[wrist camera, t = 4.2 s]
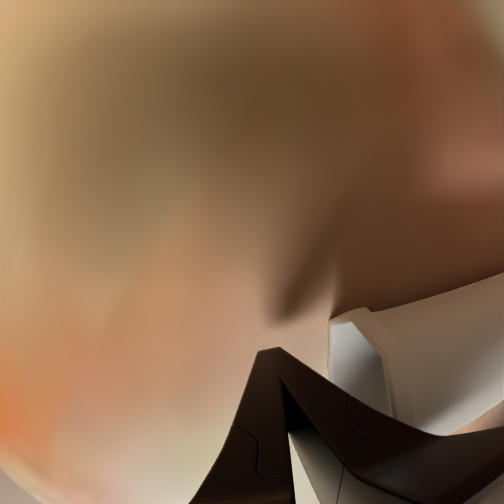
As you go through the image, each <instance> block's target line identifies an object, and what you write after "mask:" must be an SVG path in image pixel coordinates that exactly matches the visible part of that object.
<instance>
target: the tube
mask: <svg viewBox="0 0 504 504" xmlns="http://www.w3.org/2000/svg"><path fill="white" fill-rule="evenodd" d="M327 368H328V373H329V379H330V382H332V383H333V384H335V385H336V386H338V387H340V388H341V389H343V390H344V391H346V392H347V393H349V394H350V395H351V396H354V397H355V398H357V399H358V400H360V401H361V402H363V403H365V404H367V405H368V406H370V407H372V408H373V409H375V410H377V411H379V412H381V413H383V414H385V415H387V416H389V417H392V418H394V419H396V420H399V421H401V422H403V423H405V424H408V425H410V426H413V427H415V428H417V429H420V430H422V431H425V432H427V433H431V434H435V435H441V436H448V435H450V434H452V433H454V432H455V431H457V430H459V429H460V428H462V427H464V426H465V425H467V424H469V423H470V422H472V421H473V420H475V419H476V418H478V417H480V416H481V415H483V414H484V413H486V412H487V411H488V410H490V409H491V408H493V407H494V406H496V405H497V404H498V403H500V402H501V401H503V400H504V272H503V273H500V274H497V275H495V276H492V277H489V278H487V279H484V280H481V281H478V282H475V283H472V284H469V285H466V286H463V287H460V288H457V289H454V290H451V291H448V292H445V293H442V294H439V295H435V296H432V297H429V298H425V299H422V300H419V301H415V302H412V303H408V304H405V305H401V306H397V307H394V308H390V309H386V310H383V311H377V312H370V311H369V310H368V309H367V308H366V307H363V308H358V309H353V310H350V311H348V312H346V313H343V314H341V315H339V316H337V317H335V318H332V319H330V320H329V322H328V365H327Z"/></svg>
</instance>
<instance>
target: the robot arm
mask: <svg viewBox="0 0 504 504" xmlns="http://www.w3.org/2000/svg"><path fill="white" fill-rule="evenodd" d="M232 424H233V425H232V426H231V428H230V431H229V434H228V436H227V438H226V441H225V443H224V446H223V448H222V450H221V452H220V454H219V455H218V457H217V459H216V461H215V463H214V464H213V466H212V468H211V470H210V471H209V473H208V475H207V476H206V478H205V479H204V481H203V483H202V484H201V486H200V488H199V489H198V491H197V492H196V494H195V496H194V497H193V498H192V500H191V501H190V502H189V504H296V501H295V491H294V482H293V473H292V464H291V455H290V447H289V438H288V433H289V435H290V438H291V440H292V442H293V445H294V447H295V449H296V451H297V454H298V456H299V458H300V460H301V463H302V465H303V467H304V469H305V472H306V474H307V476H308V478H309V480H310V483H311V485H312V487H313V489H314V491H315V493H316V496H317V498H318V500H319V502H320V504H504V426H501V427H497V428H492V429H487V430H482V431H476V432H470V433H464V434H457V435H450V436H441V435H435V434H431V433H427V432H425V431H422V430H420V429H417V428H415V427H413V426H410V425H408V424H405V423H403V422H401V421H399V420H396V419H394V418H392V417H389V416H387V415H385V414H383V413H381V412H379V411H377V410H375V409H373V408H372V407H370V406H368V405H367V404H365V403H363V402H361V401H360V400H358V399H357V398H355V397H354V396H351V395H350V394H349V393H347V392H346V391H344V390H343V389H341V388H340V387H338V386H336V385H335V384H333V383H332V382H330V381H329V380H327V379H326V378H324V377H323V376H321V375H320V374H318V373H317V372H316V371H314V370H313V369H311V368H310V367H308V366H307V365H305V364H304V363H302V362H301V361H299V360H298V359H297V358H295V357H294V356H292V355H291V354H289V353H288V352H287V351H285V350H284V349H282V348H281V347H276V348H271V349H266V350H261V351H258V352H257V355H256V358H255V361H254V364H253V367H252V370H251V372H250V375H249V378H248V381H247V384H246V387H245V390H244V392H243V395H242V398H241V401H240V404H239V407H238V409H237V412H236V415H235V418H234V420H233V423H232Z"/></svg>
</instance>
